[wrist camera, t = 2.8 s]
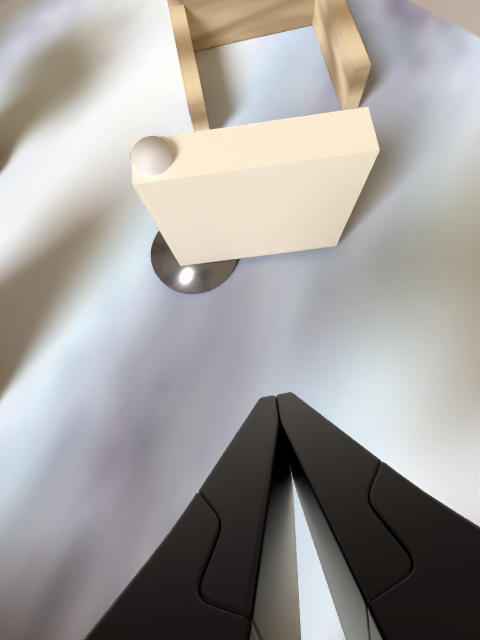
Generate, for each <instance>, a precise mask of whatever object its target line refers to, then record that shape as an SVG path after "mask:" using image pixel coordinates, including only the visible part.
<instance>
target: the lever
mask: <svg viewBox="0 0 480 640" xmlns="http://www.w3.org/2000/svg"><path fill="white" fill-rule="evenodd" d="M379 151H380V149H379V145H378V142H377V138H376V134H375V130H374V126H373V123H372V119H371V115H370V111H369V107H363V108H356V109H349V110H342V111H335V112H328V113H321V114H315V115H308V116H301V117H294V118H287V119H280V120H273V121H266V122H259V123H252V124H245V125H238V126H232V127H225V128H218V129H211V130H204V131H197V132H190V133H183V134H176V135H169V136H162V137H157V136H149V137H145V138H142V139H141V140H135V141H131V153H130V157H131V161H132V185H133V187H134V189H135V190H136V192H137V194H138V195H139V197H140V199H141V200H142V202H143V204H144V206H145V207H146V209H147V211H148V212H149V214H150V216H151V217H152V219H153V221H154V222H155V224H156V226H157V227H158V229H159V231H160V232H161V234H162V236H163V238H164V239H165V241H166V243H167V244H168V246H169V248H170V249H171V251H172V253H173V254H174V256H175V258H176V259H177V261H178V263H179V264H180V266H184V265H192V264H200V263H208V262H215V261H223V260H231V259H239V258H246V257H254V256H262V255H270V254H278V253H285V252H293V251H301V250H309V249H317V248H324V247H332V246H336V245H337V243H338V241H339V238H340V236H341V234H342V232H343V230H344V227H345V225H346V223H347V221H348V219H349V216H350V214H351V212H352V210H353V208H354V206H355V203H356V201H357V199H358V197H359V195H360V192H361V190H362V188H363V186H364V184H365V182H366V179H367V177H368V175H369V173H370V171H371V168H372V166H373V164H374V162H375V160H376V158H377V155H378V153H379Z"/></svg>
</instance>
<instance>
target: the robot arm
mask: <svg viewBox="0 0 480 640" xmlns="http://www.w3.org/2000/svg"><path fill="white" fill-rule="evenodd" d="M289 463H290V464H289ZM290 468H291V469H290ZM291 472H292V475H291ZM292 477H293V481H294V484H295V488H296V491H297V494H298V497H299V500H300V503H301V506H302V509H303V512H304V515H305V518H306V521H307V524H308V527H309V530H310V533H311V536H312V539H313V542H314V545H315V548H316V551H317V554H318V557H319V560H320V563H321V566H322V569H323V572H324V575H325V578H326V581H327V584H328V587H329V590H330V593H331V596H332V599H333V602H334V605H335V608H336V611H337V614H338V617H339V620H340V623H341V626H342V629H343V632H344V635H345V638H346V640H480V527H479V526H477V525H476V524H474V523H473V522H471V521H469V520H468V519H466V518H464V517H463V516H461V515H460V514H458V513H456V512H455V511H453V510H452V509H450V508H449V507H447V506H446V505H444V504H443V503H441V502H439V501H438V500H436V499H435V498H433V497H432V496H430V495H429V494H427V493H426V492H424V491H423V490H421V489H420V488H418V487H417V486H416V485H414V484H413V483H412V482H410V481H409V480H407V479H406V478H405V477H403V476H402V475H400V474H399V473H398V472H396V471H395V470H394V469H392V468H391V467H390V466H388V465H387V464H386V463H384V462H382V461H381V460H380V459H378V458H377V457H376V456H374V455H373V454H372V453H371V452H369V451H368V450H367V449H365V448H364V447H363V446H361V445H360V444H359V443H357V442H356V441H355V440H354V439H352V438H351V437H350V436H348V435H347V434H346V433H344V432H343V431H342V430H340V429H339V428H338V427H337V426H335V425H334V424H333V423H331V422H330V421H329V420H327V419H326V418H325V417H323V416H322V415H321V414H320V413H318V412H317V411H316V410H314V409H313V408H312V407H310V406H309V405H308V404H306V403H305V402H304V401H303V400H301V399H300V398H299V397H297V396H296V395H295V394H293V393H291V392H289V393H283V394H279V395H277V397H275V396H267V397H262V398H260V399H259V400H258V402H257V403H256V405H255V406H254V408H253V409H252V411H251V412H250V414H249V415H248V417H247V418H246V420H245V422H244V423H243V425H242V426H241V428H240V429H239V431H238V432H237V434H236V435H235V437H234V438H233V440H232V441H231V443H230V444H229V446H228V447H227V449H226V450H225V452H224V453H223V455H222V456H221V458H220V459H219V461H218V462H217V464H216V465H215V467H214V468H213V470H212V472H211V473H210V475H209V476H208V478H207V479H206V481H205V482H204V484H203V485H202V487H201V488H200V490H199V493H196V495H195V496H194V498H193V499H192V501H191V502H190V504H189V505H188V507H187V508H186V510H185V511H184V513H183V514H182V515H181V517H180V518H179V520H178V521H177V523H176V524H175V525H174V527H173V528H172V530H171V531H170V532H169V534H168V535H167V536H166V538H165V539H164V540H163V541H162V543H161V544H160V545H159V547H158V548H157V549H156V550H155V552H154V553H153V554H152V556H151V557H150V558H149V559H148V561H147V562H146V563H145V564H144V566H143V567H142V568H141V569H140V571H139V572H138V573H137V574H136V576H135V577H134V578H133V579H132V581H131V582H130V583H129V584H128V585H127V587H126V588H125V589H124V590H123V592H122V593H121V594H120V595H119V597H118V598H117V599H116V600H115V602H114V603H113V604H112V605H111V606H110V608H109V609H108V610H107V611H106V613H105V614H104V615H103V616H102V618H101V619H100V620H99V621H98V623H97V624H96V625H95V626H94V628H93V629H92V630H91V631H90V632H89V634H88V635H87V636H86V637H85V639H84V640H301V628H300V610H299V591H298V572H297V554H296V535H295V516H294V498H293V483H292Z"/></svg>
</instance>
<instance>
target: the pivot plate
mask: <svg viewBox="0 0 480 640" xmlns="http://www.w3.org/2000/svg"><path fill="white" fill-rule="evenodd" d="M151 262H152V266H153V269H154V271H155V273H156V274H157V276H158V277H159V278H160V280H161V281H162V282H163V283H164V284H165V285H167V286H168V287H170V288H171V289H173V290H175V291H178V292H181V293H186V294H198V293H203V292H207V291H210V290H212V289H214V288H216V287H217V286H219V285H220V284H222V283H223V282H224V281H225V280H226V279H227V278H228V277H229V276H230V274H231V273H232V271H233V269H234V268H235V265H236V262H237V259H231V260H223V261H215V262H208V263H200V264H192V265H184V266H180V264H179V263H178V261H177V259H176V258H175V256H174V254H173V253H172V251H171V249H170V248H169V246H168V244H167V243H166V241H165V239H164V238H163V236H162V234H161V232H160V231H159V232H158V233H157V235H156V237H155V239H154V241H153V244H152V248H151Z"/></svg>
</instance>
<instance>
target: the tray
mask: <svg viewBox="0 0 480 640" xmlns="http://www.w3.org/2000/svg"><path fill="white" fill-rule="evenodd" d="M167 1H168V6H169V11H170V16H171V21H172V27H173V32H174V37H175V42H176V47H177V52H178V58H179V63H180V68H181V73H182V78H183V83H184V88H185V94H186V99H187V104H188V108H189V112H190V116H191V120H192V124H193V128H194V132H197V131H204V130H210V128H209V123H208V118H207V113H206V108H205V103H204V98H203V93H202V88H201V84H200V79H199V74H198V69H197V65H196V60H195V55H194V51H197V50H202V49H206V48H211V47H215V46H220V45H224V44H229V43H233V42H238V41H242V40H247V39H251V38H256V37H260V36H265V35H269V34H274V33H278V32H283V31H287V30H292V29H296V28H301V27H305V26H310V25H312V26H313V29H314V32H315V34H316V37H317V40H318V43H319V46H320V49H321V51H322V54H323V57H324V60H325V63H326V66H327V68H328V71H329V74H330V77H331V80H332V83H333V85H334V88H335V91H336V94H337V97H338V100H339V102H340V105H341V108H342V110H349V109H356V108H358V106H359V103H360V100H361V97H362V93H363V90H364V87H365V84H366V81H367V78H368V75H369V71H370V68H371V62H370V60H369V57H368V55H367V52H366V50H365V47H364V45H363V42H362V40H361V37H360V35H359V32H358V30H357V27H356V25H355V22H354V20H353V17H352V15H351V12H350V10H349V7H348V5H347V3H346V0H167Z"/></svg>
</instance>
